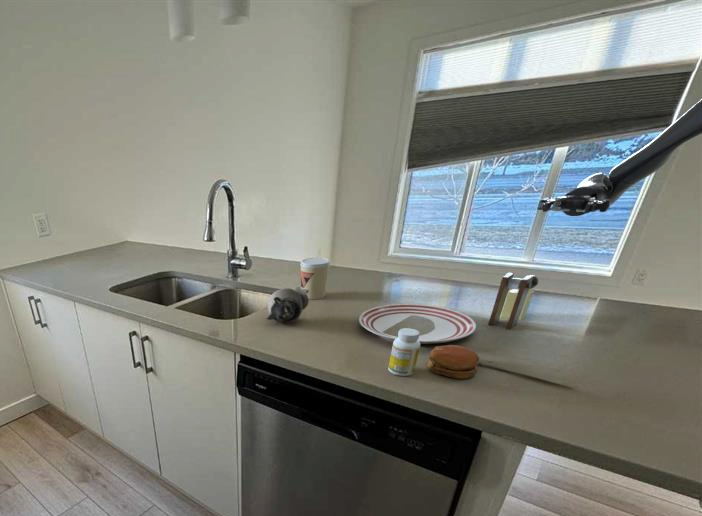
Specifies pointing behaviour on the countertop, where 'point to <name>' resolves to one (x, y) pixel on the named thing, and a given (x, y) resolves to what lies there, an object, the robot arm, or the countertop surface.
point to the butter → (511, 300)
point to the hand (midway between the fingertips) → (565, 208)
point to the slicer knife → (516, 282)
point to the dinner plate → (445, 320)
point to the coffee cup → (314, 277)
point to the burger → (453, 361)
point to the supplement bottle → (404, 352)
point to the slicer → (517, 305)
